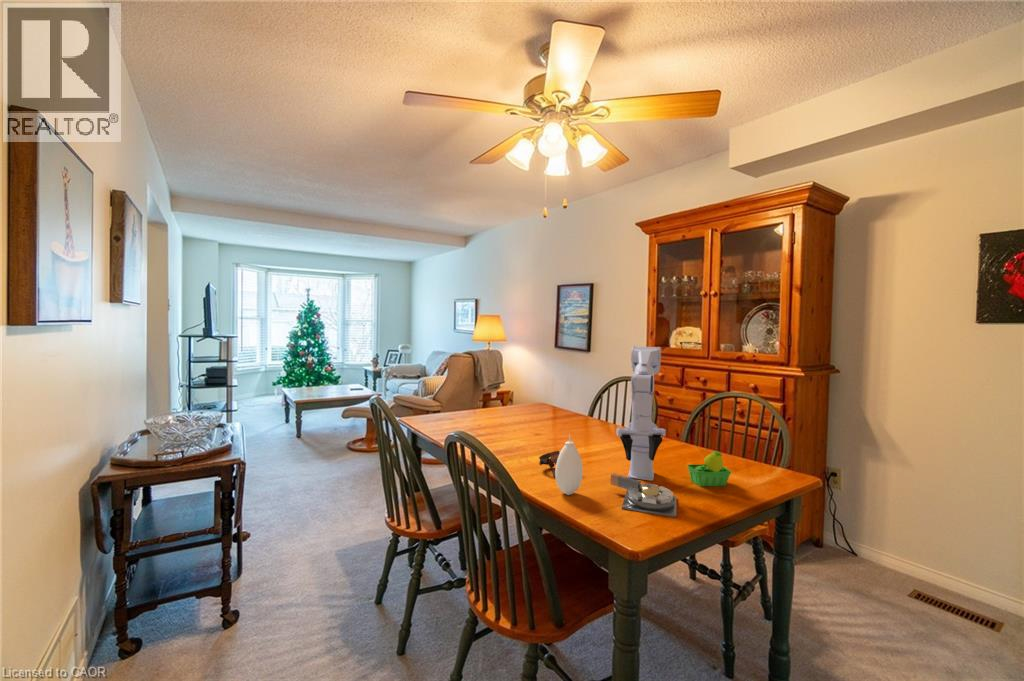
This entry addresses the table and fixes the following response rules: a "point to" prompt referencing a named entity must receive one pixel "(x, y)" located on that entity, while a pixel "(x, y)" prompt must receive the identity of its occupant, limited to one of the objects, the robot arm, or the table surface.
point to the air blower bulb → (568, 469)
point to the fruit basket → (710, 471)
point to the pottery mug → (545, 459)
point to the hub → (657, 508)
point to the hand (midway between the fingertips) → (639, 459)
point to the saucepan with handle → (636, 488)
